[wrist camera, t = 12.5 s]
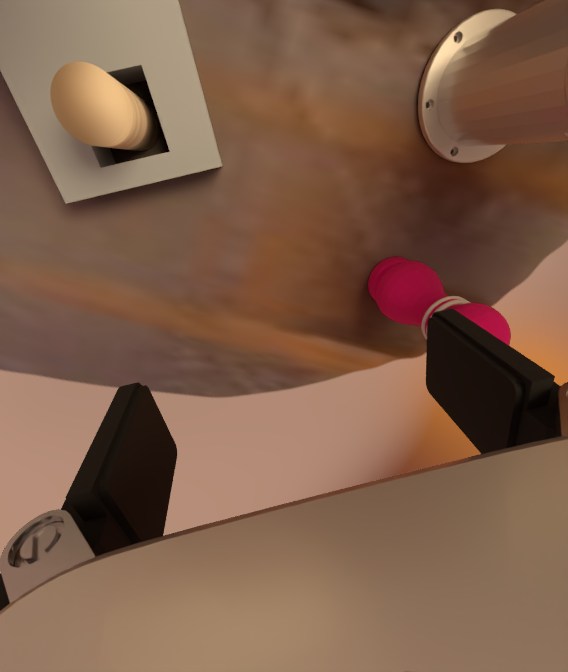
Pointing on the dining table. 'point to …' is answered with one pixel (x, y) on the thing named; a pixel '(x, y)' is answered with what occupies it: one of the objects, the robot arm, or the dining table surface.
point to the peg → (102, 109)
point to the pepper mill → (425, 297)
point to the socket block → (122, 64)
